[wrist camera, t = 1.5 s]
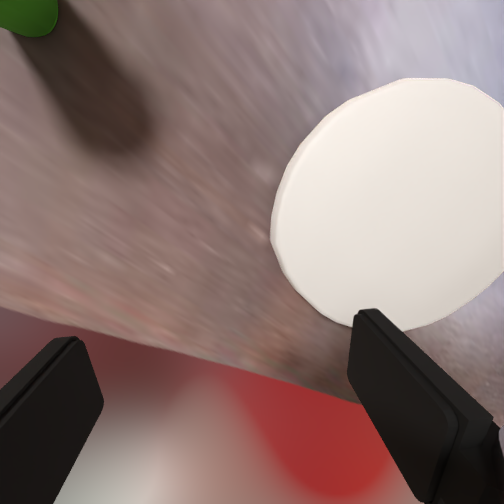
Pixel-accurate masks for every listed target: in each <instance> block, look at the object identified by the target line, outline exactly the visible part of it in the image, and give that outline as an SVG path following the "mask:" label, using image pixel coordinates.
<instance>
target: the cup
mask: <svg viewBox="0 0 504 504" xmlns="http://www.w3.org/2000/svg"><path fill="white" fill-rule="evenodd" d="M57 19H58V4H57V0H0V27H2V28H4V29H7V30H9V31H12V32H15V33H17V34H20V35H23V36H26V37H40V36H44V35H46V34H48V33H49V32H51V31H52V29H53V28H54V27H55V25H56V22H57Z"/></svg>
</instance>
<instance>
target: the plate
mask: <svg viewBox="0 0 504 504" xmlns="http://www.w3.org/2000/svg"><path fill="white" fill-rule="evenodd" d="M270 241H271V244H272V247H273V249H274V252H275V254H276V257H277V259H278V262H279V264H280V267H281V269H282V272H283V273H284V275H285V276H286V278H287V279H288V281H289V282H290V284H291V285H292V287H293V288H294V289H295V290H296V291H297V292H298V293H299V294H300V295H301V296H302V297H303V298H304V299H306V300H307V301H308V302H309V303H310V304H311V305H312V306H313V307H314V308H315V309H316V310H317V311H318V312H320V313H321V314H323V315H324V316H326V317H328V318H330V319H331V320H333V321H335V322H337V323H340V324H343V325H346V326H349V327H352V326H353V318H354V315H355V314H358V311H359V310H361V309H371V308H377V309H378V310H380V311H381V312H382V313H383V314H384V315H385V316H386V317H387V318H388V319H389V320H390V321H391V322H392V323H393V324H395V325H396V326H397V327H398V328H399V329H400V330H401V331H402V332H403V331H407V330H411V329H415V328H419V327H423V326H426V325H429V324H431V323H434V322H436V321H438V320H440V319H443V318H445V317H447V316H449V315H450V314H452V313H453V312H455V311H456V310H458V309H459V308H461V307H462V306H464V305H465V304H467V303H468V302H470V301H471V300H473V299H474V298H475V297H476V296H477V295H479V294H480V293H481V292H482V291H484V290H485V289H486V288H487V287H489V286H490V285H491V284H492V283H493V282H494V281H495V280H496V279H497V278H498V277H499V276H500V275H501V274H502V273H503V272H504V108H503V107H502V106H501V104H500V103H499V102H497V101H496V100H494V99H493V98H491V97H490V96H488V95H487V94H485V93H484V92H482V91H481V90H479V89H478V88H476V87H475V86H473V85H469V84H466V83H462V82H459V81H455V80H452V79H443V78H403V79H400V80H397V81H395V82H392V83H390V84H387V85H385V86H382V87H380V88H377V89H375V90H372V91H370V92H367V93H365V94H362V95H360V96H357V97H355V98H352V99H350V100H348V101H346V102H345V103H343V104H342V105H340V106H339V107H338V108H336V109H335V110H333V111H332V112H331V113H329V114H328V115H326V116H325V117H324V118H323V119H322V120H321V122H320V123H319V124H318V125H317V126H316V127H315V128H314V129H313V131H312V132H311V133H310V134H309V135H308V136H307V137H306V138H305V139H304V141H303V142H302V143H301V144H300V145H299V147H298V149H297V150H296V152H295V154H294V155H293V157H292V159H291V160H290V162H289V163H288V165H287V167H286V169H285V172H284V175H283V177H282V180H281V182H280V185H279V188H278V190H277V193H276V197H275V202H274V206H273V211H272V215H271V229H270Z"/></svg>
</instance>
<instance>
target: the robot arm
mask: <svg viewBox="0 0 504 504" xmlns="http://www.w3.org/2000/svg"><path fill="white" fill-rule="evenodd" d="M347 375H348V379H349V382H350V384H351V385H352V387H353V389H354V391H355V392H356V394H357V396H358V398H359V399H360V401H361V403H362V405H363V406H364V408H365V410H366V412H367V413H368V415H369V417H370V419H371V421H372V422H373V424H374V426H375V428H376V429H377V431H378V433H379V435H380V436H381V438H382V440H383V441H384V443H385V445H386V447H387V448H388V450H389V452H390V454H391V456H392V457H393V459H394V461H395V463H396V464H397V466H398V468H399V470H400V471H401V473H402V475H403V477H404V479H405V480H406V482H407V484H408V486H409V487H410V489H411V491H412V492H413V494H414V496H415V497H416V498H417V499H418V501H420V502H424V504H504V426H502V428H500V427H499V426H497V425H496V424H495V423H494V422H493V421H492V420H493V418H494V417H493V416H492V415H491V414H490V413H489V412H488V411H486V410H485V409H484V408H483V407H482V406H481V405H480V404H479V403H478V402H477V401H476V400H475V399H474V398H473V397H472V396H470V395H469V394H468V393H467V392H466V391H465V390H464V389H463V388H462V387H461V386H460V385H459V384H458V383H457V382H455V381H454V380H453V379H452V378H451V377H450V376H449V375H448V374H447V373H446V372H445V371H444V370H443V369H442V368H441V367H439V366H438V365H437V364H436V363H435V362H434V361H433V360H432V359H431V358H430V357H429V356H428V355H427V354H426V353H424V352H423V351H422V350H421V349H420V348H419V347H418V346H417V345H416V344H415V343H414V342H413V341H412V340H411V339H410V338H408V337H407V336H406V335H405V334H404V333H403V332H402V331H401V330H400V329H399V328H398V327H397V326H396V325H395V324H393V323H392V322H391V321H390V320H389V319H388V318H387V317H386V316H385V315H384V314H383V313H382V312H381V311H380V310H378V309H377V308H371V309H361V310H359V311H358V314H355V315H354V318H353V326H352V334H351V343H350V351H349V360H348V368H347ZM103 405H104V399H103V396H102V393H101V390H100V387H99V384H98V381H97V378H96V376H95V373H94V370H93V367H92V364H91V361H90V358H89V355H88V352H87V349H86V346H85V344H84V342H83V341H82V340H79V338H78V337H76V336H71V337H61V338H55V339H53V340H52V341H50V342H49V343H48V344H47V345H46V346H45V347H44V348H43V349H42V350H41V351H40V352H39V353H38V354H37V355H36V356H35V357H34V358H33V359H32V360H31V361H30V362H29V363H28V364H26V366H25V367H24V368H22V369H21V370H20V371H19V372H18V373H17V374H16V375H15V376H14V377H13V378H12V379H11V380H10V381H9V382H8V383H7V384H6V385H5V386H4V387H3V388H2V389H1V390H0V504H53V503H54V501H55V499H56V497H57V495H58V494H59V492H60V490H61V488H62V486H63V484H64V482H65V480H66V478H67V476H68V474H69V473H70V471H71V469H72V467H73V465H74V463H75V461H76V459H77V457H78V455H79V454H80V451H81V450H82V448H83V446H84V444H85V442H86V440H87V438H88V436H89V434H90V433H91V431H92V428H93V427H94V425H95V423H96V421H97V419H98V417H99V415H100V414H101V411H102V409H103Z"/></svg>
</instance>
